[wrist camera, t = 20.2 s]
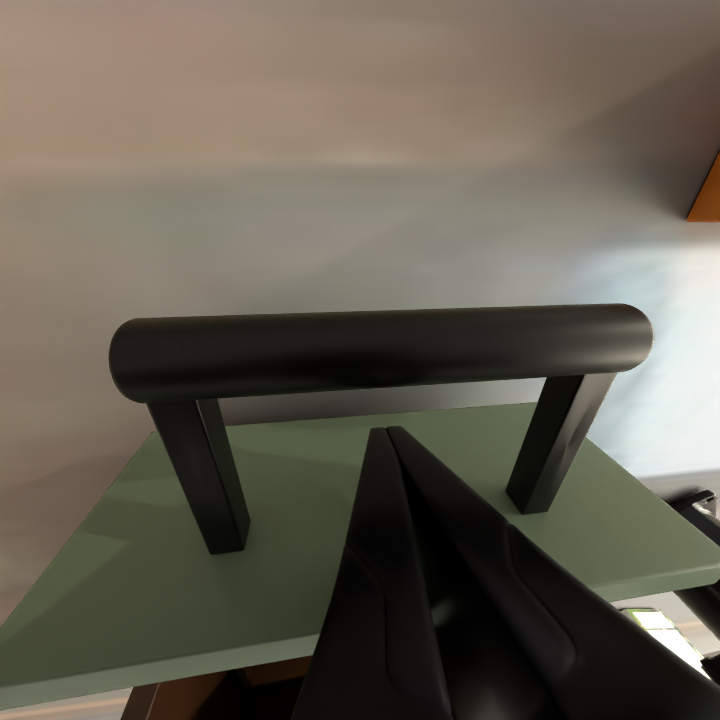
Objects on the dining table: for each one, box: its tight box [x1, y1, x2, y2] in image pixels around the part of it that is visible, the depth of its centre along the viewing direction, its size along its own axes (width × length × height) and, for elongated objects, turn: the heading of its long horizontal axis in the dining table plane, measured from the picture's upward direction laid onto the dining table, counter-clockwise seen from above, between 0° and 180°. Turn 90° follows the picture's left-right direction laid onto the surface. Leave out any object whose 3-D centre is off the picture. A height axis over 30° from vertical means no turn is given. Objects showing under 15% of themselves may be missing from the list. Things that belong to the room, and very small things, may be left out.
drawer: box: [0, 303, 720, 710], centre depth 11 cm, size 22×16×6 cm
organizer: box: [120, 669, 457, 720], centre depth 15 cm, size 16×16×9 cm
